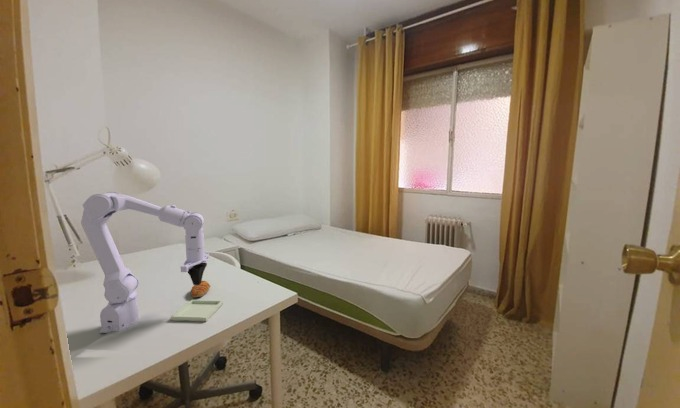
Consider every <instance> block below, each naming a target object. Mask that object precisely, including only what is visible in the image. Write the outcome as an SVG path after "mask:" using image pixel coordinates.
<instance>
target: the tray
mask: <svg viewBox="0 0 680 408" xmlns="http://www.w3.org/2000/svg"><path fill="white" fill-rule="evenodd" d="M223 305H224V300H219V299H218V300H216V299H191V300H190V301H189V302H187V303H186V304H185V305H183V306H182V307H181V308H180V309H179V310H177V311H176V312H175V313H174V314H173V315H171V316H170V320H171V322H193V323H194V322H201V323H204V322H205V323H206V322H208V321H209V320H210V319H211V318H212V316H213V315H215V313H217V311H218V310H219V309H220V308H221V307H222V306H223Z"/></svg>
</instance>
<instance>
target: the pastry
mask: <svg viewBox="0 0 680 408" xmlns="http://www.w3.org/2000/svg"><path fill="white" fill-rule="evenodd" d="M210 288H211V284H209V282H208V281H207V280H202V281H201V284H199V285H193V286H192V287H191V289H190V294H191V295H190V296H191V297H192V298H200V297H203V296H205V295H207V294H208V292H209V291H210V290H211V289H210Z"/></svg>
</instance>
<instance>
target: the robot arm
mask: <svg viewBox="0 0 680 408" xmlns="http://www.w3.org/2000/svg"><path fill="white" fill-rule="evenodd" d="M82 207H83V212H82V217H81V221H80V224H81V227H82V229H83V231H84V233H85V235H86V237H87V240H88V242H89V244H90V246H91V248H92V251H93V253H94V255H95V257H96V259H97V262H98V263H99V266H100V268H101V269H102V272H103V274H104V280H103V284H102V285H103V287H104V298H105V299H106V301H107V302H108V303H107V305H106V306H105V307H103V309H101V311H100V315H99V317H100V327H101V328H100V330H99V333H100V334H101V333H103V334H104V333H105V334H108V333H110V332H121V331H122V330H124V329H125V328H126V329H127V327H129V326H130V325H133V324H134V323H136V322H137V321H138V320H139V318H140V317H139V304H138V293H137V291H136V289H137V288H138V287H139V284H140V280H139V278H138V277H137V276H136V275H135V274H133V273H132V271H131V269H130V268H128V267H126V266H125V264H124V263H125V262H124V260H123V259H122V257H121V254H120V252H119V250H118V248H117V246H116V244H115V241H114V239H113V236H112V234H111V232H110V230H109V227H108V225H107V223H108V221H109V220H110V219H111V217H112V215H114V214H116V213H117V212H118V211H124V210H132V211H136V212H140V213H144V214H146V215H147V214H148V215H150V216H151V215H152V216H155V217H158V219H159V221H161V223H162V222H163V223H166V224H169V225H173V226H176V227H179V228H182V227H183V229H184V231H185V236H184V237H185V253H186V254H185V255H186V257H185V258H186V260H185V261H184V263H183V264H182V265H181V266H180V273H187V274H188V276H189V278H190V280H191V283H192V284H193V286H194V285H199V284H201V281H203V275H204V272H205V269H206V267H207V265H208V263H207V262H208V261H209V259H210V253H209V252H205V235H204V227H203V225H204V223H205V218H204V217H203V215H202V214H200V213H199V212H197V211H195V212H194V211H193V212H192V210H188V209H187V210H185V209H181V208H178V207H177V205H174V204H172V205H169V204H168V205H164V206H159V205H156V204H154V203H151V202H148V201H146V200H143V199H140V198H136V197H135V196H134V197H133V196H132V195H128V194H124V193H119V192H116V191H108V192H104V193H103V192H102V193H95V194H92V195H90V196H89V197H88V198H87V199H86V200H85V201H84V203H83V204H82Z"/></svg>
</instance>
